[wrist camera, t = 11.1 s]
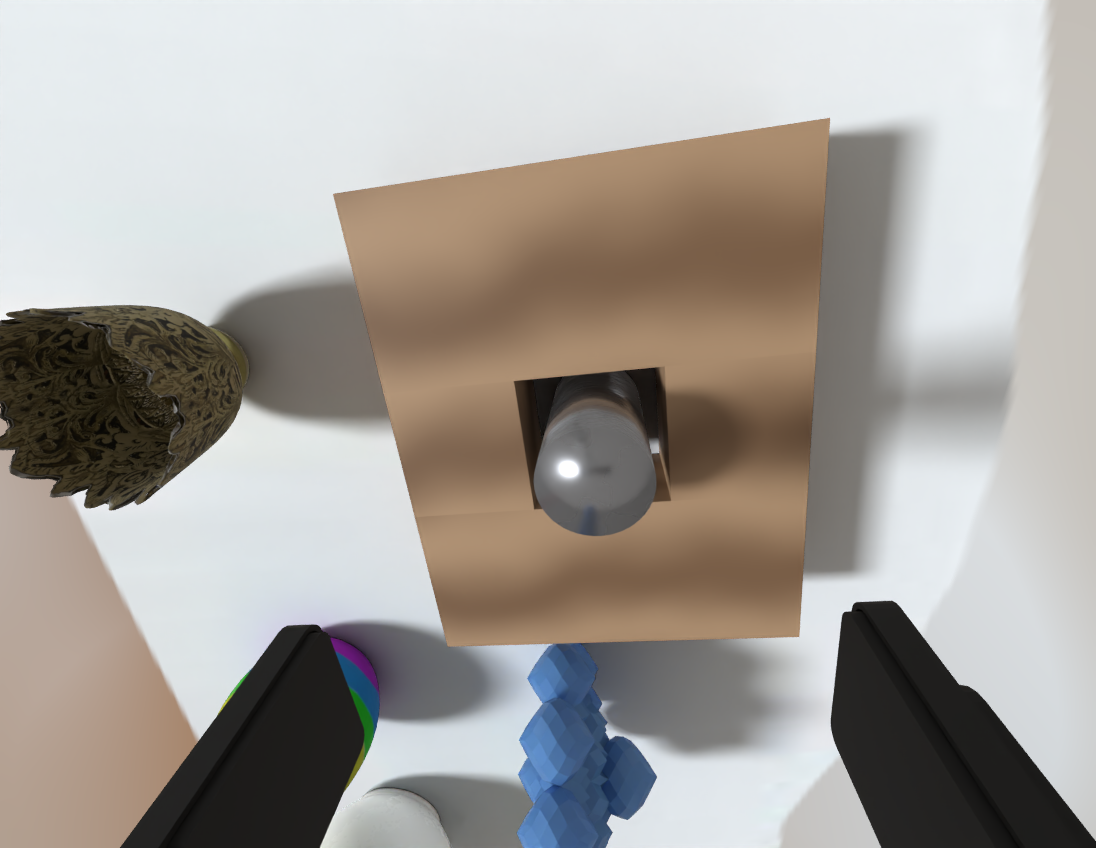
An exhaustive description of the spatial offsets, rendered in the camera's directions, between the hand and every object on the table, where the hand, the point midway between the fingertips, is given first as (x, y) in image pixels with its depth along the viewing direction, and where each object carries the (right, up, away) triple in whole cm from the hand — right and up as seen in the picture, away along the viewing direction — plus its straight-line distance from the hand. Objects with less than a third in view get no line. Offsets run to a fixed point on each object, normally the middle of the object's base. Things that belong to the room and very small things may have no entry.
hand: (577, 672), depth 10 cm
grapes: (+2, -10, +21) cm, 24 cm away
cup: (-17, +8, +16) cm, 24 cm away
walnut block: (+2, +6, +15) cm, 16 cm away
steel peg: (+2, +6, +15) cm, 16 cm away
